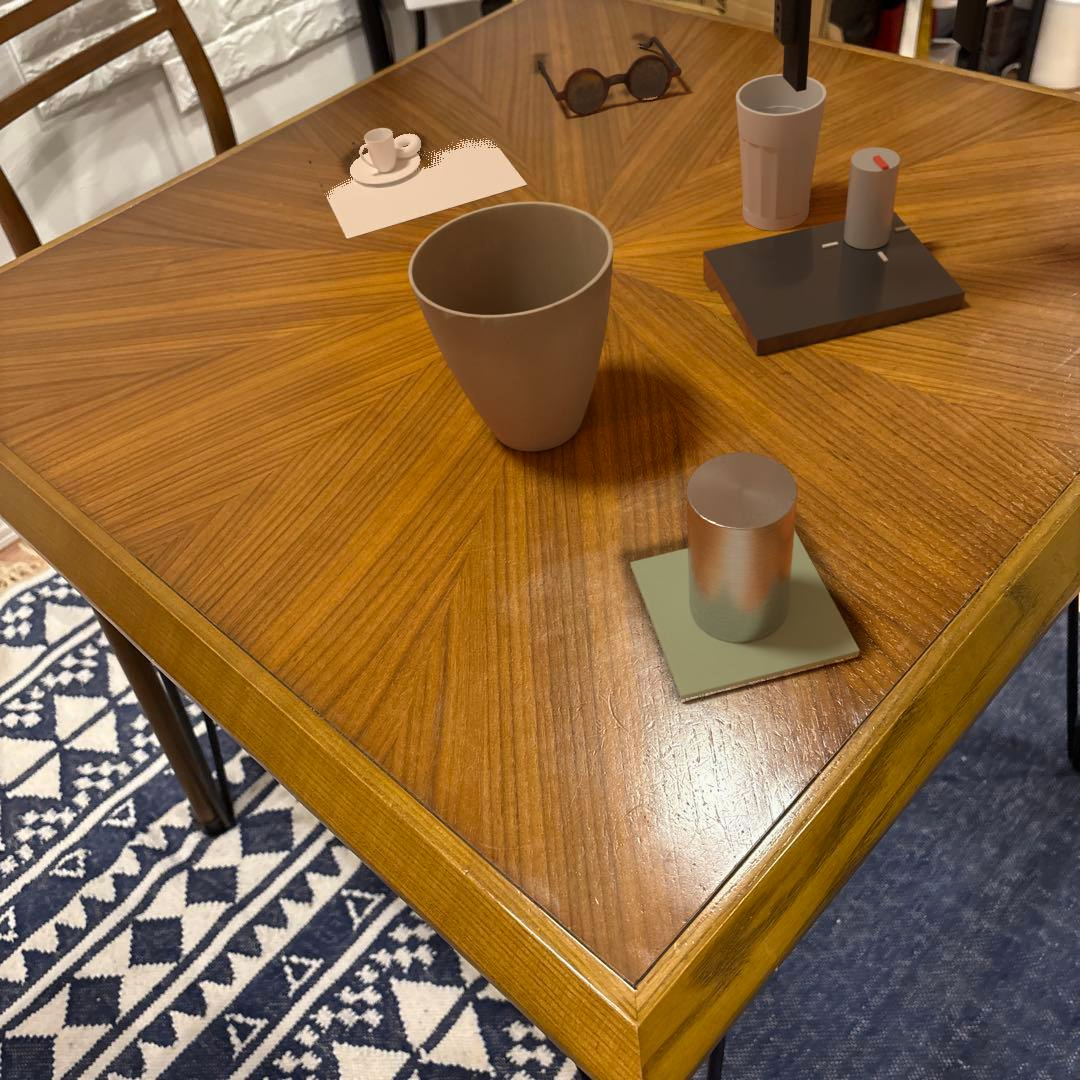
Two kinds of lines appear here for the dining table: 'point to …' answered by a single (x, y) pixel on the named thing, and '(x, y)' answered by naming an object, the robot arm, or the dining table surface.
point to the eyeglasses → (616, 81)
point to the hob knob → (871, 197)
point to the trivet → (720, 664)
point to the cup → (778, 149)
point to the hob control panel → (826, 285)
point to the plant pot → (519, 313)
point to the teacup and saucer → (415, 181)
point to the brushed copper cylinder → (740, 545)
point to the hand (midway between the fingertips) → (880, 64)
